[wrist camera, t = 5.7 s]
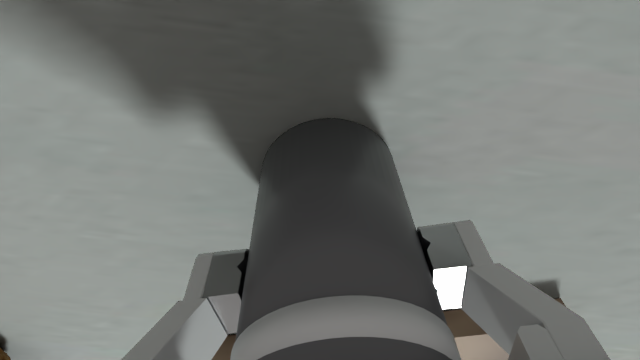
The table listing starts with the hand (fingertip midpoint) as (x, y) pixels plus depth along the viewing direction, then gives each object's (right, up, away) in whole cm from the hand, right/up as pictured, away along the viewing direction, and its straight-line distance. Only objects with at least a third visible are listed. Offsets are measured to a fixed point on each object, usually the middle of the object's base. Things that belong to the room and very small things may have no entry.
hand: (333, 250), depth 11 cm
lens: (0, +2, +3) cm, 4 cm away
